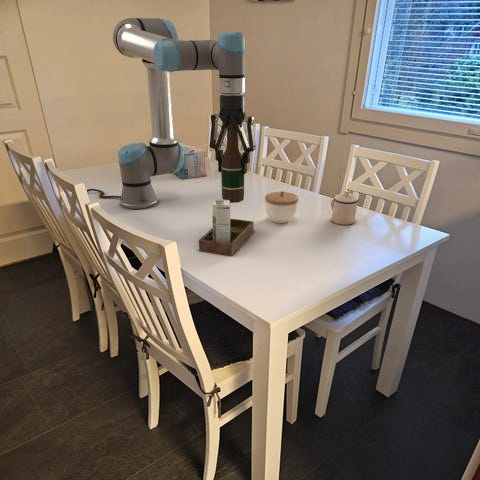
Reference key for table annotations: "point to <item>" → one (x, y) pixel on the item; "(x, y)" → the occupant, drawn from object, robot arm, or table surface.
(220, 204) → the syrup box
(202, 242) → the tray
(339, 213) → the teacup with lid
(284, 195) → the lidded bowl
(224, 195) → the beer bottle
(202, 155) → the soda box
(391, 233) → the table surface
